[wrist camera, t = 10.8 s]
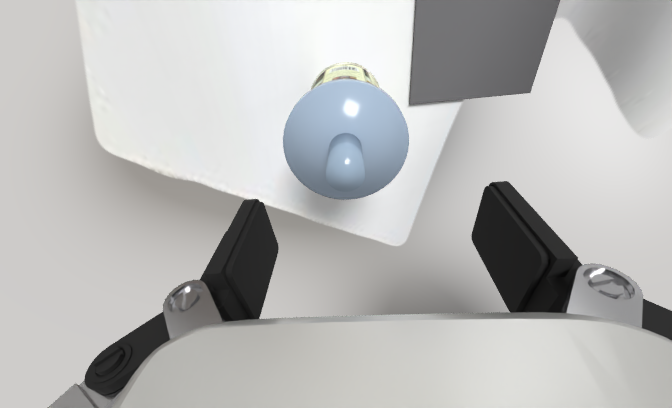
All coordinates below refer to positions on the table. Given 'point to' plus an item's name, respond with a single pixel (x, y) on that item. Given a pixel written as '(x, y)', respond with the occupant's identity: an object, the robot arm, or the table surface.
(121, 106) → the table surface
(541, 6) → the mat
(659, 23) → the table surface
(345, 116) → the lid
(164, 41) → the table surface
